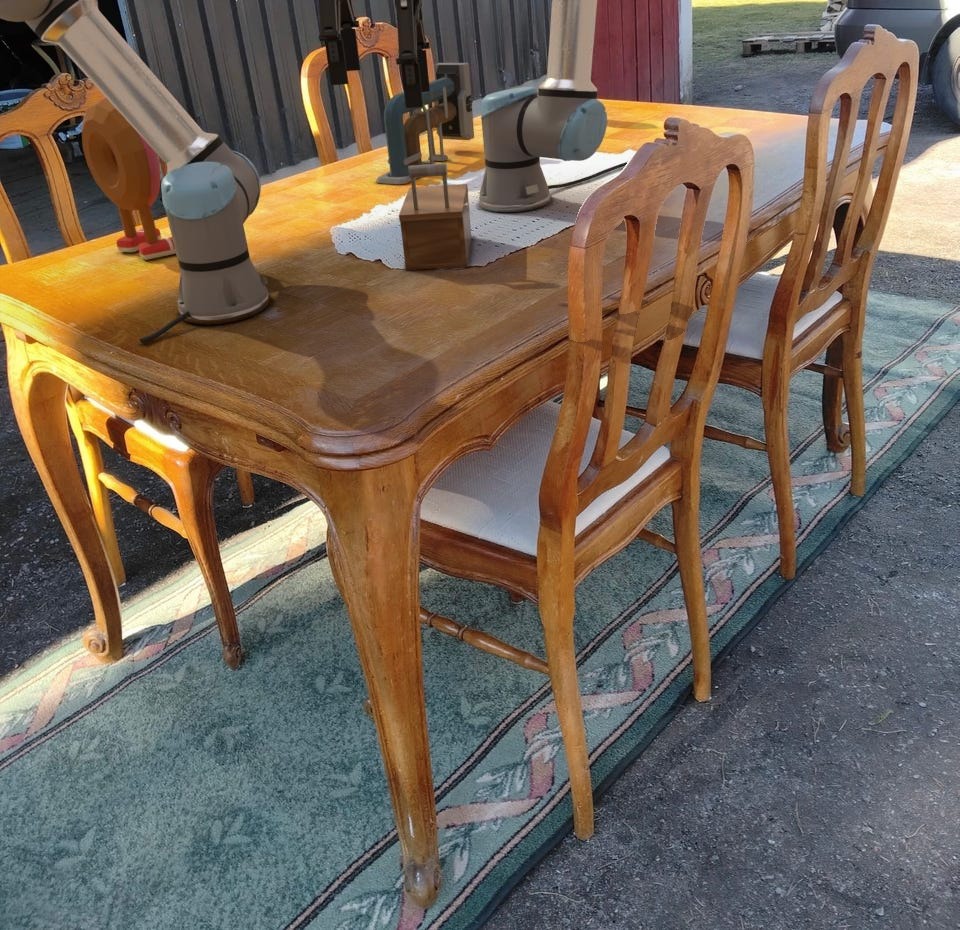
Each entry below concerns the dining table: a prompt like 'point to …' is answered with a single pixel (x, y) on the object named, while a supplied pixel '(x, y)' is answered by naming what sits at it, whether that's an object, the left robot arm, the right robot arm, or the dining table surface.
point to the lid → (433, 196)
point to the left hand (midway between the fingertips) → (346, 77)
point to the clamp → (428, 121)
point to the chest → (437, 242)
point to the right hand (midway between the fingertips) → (418, 99)
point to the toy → (125, 176)
